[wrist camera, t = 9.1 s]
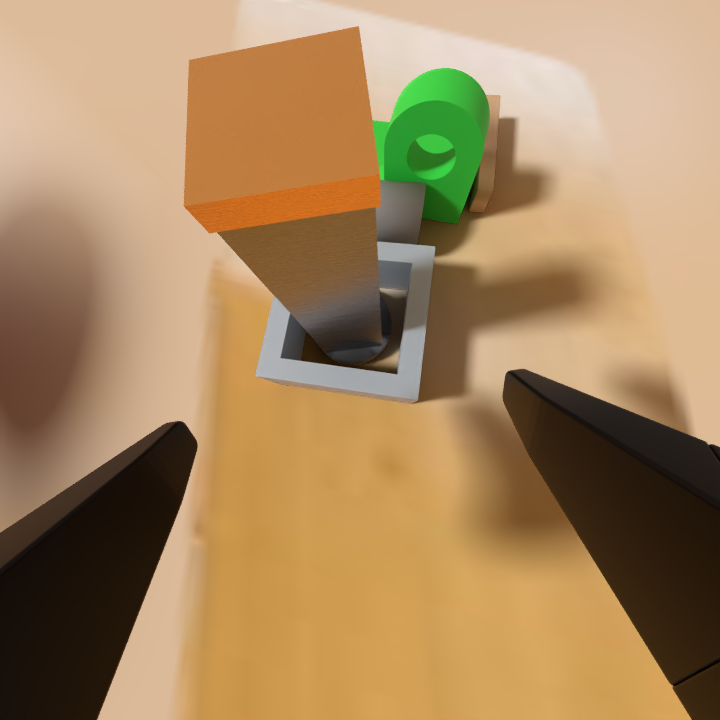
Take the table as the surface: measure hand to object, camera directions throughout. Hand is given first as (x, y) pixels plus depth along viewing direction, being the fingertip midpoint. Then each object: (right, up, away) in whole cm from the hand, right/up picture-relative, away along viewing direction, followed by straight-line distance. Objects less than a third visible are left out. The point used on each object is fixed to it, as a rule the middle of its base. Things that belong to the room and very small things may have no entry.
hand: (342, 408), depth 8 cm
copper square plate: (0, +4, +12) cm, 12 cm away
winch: (0, +6, +12) cm, 13 cm away
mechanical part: (+3, +15, +14) cm, 21 cm away
